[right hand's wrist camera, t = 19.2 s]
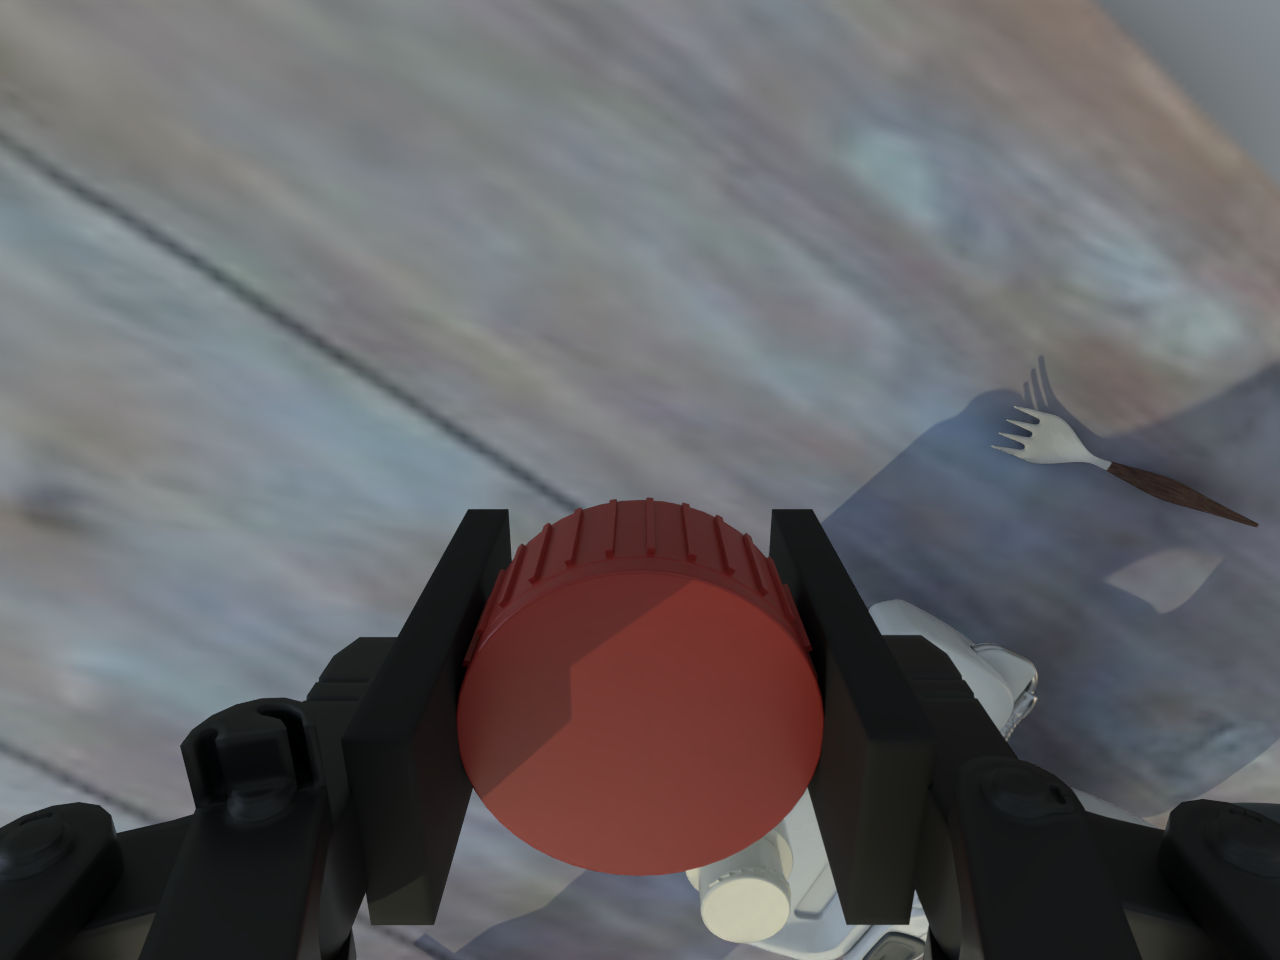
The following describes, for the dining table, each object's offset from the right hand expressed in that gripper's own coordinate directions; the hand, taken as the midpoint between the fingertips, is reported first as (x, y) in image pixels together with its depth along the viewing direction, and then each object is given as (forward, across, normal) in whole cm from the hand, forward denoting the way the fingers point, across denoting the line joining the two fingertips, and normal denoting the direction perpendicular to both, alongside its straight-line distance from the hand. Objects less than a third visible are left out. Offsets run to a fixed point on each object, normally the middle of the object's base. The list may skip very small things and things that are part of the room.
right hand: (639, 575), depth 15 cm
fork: (+24, +25, -6) cm, 35 cm away
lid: (-4, 0, 0) cm, 4 cm away
